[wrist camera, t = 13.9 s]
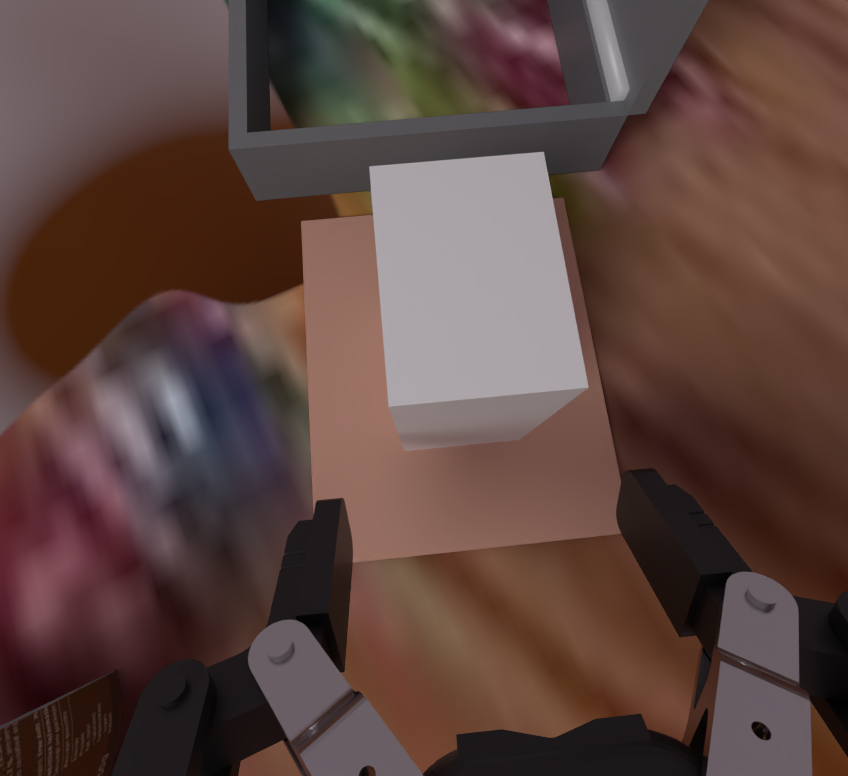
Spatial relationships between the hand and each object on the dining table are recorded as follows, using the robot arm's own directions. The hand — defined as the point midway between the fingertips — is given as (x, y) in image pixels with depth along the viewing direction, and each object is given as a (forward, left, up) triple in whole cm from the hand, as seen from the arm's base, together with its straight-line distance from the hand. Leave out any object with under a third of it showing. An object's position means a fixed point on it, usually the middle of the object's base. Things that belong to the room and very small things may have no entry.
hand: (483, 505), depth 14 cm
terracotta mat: (0, -6, -7) cm, 9 cm away
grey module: (0, -6, -6) cm, 9 cm away
